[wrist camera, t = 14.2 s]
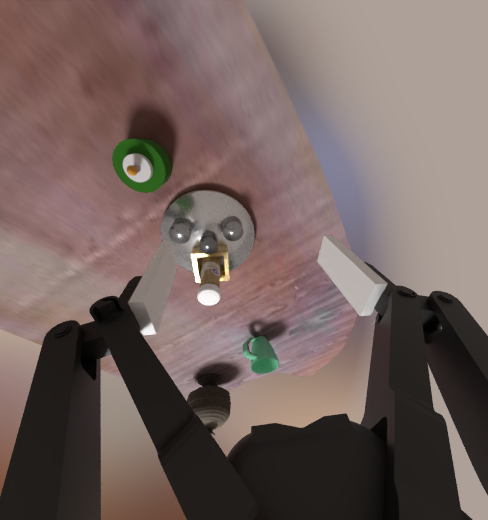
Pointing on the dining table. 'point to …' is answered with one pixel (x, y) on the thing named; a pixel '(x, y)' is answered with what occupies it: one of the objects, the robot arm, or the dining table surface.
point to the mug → (261, 355)
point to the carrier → (208, 231)
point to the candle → (142, 164)
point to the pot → (210, 402)
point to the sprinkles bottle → (209, 281)
